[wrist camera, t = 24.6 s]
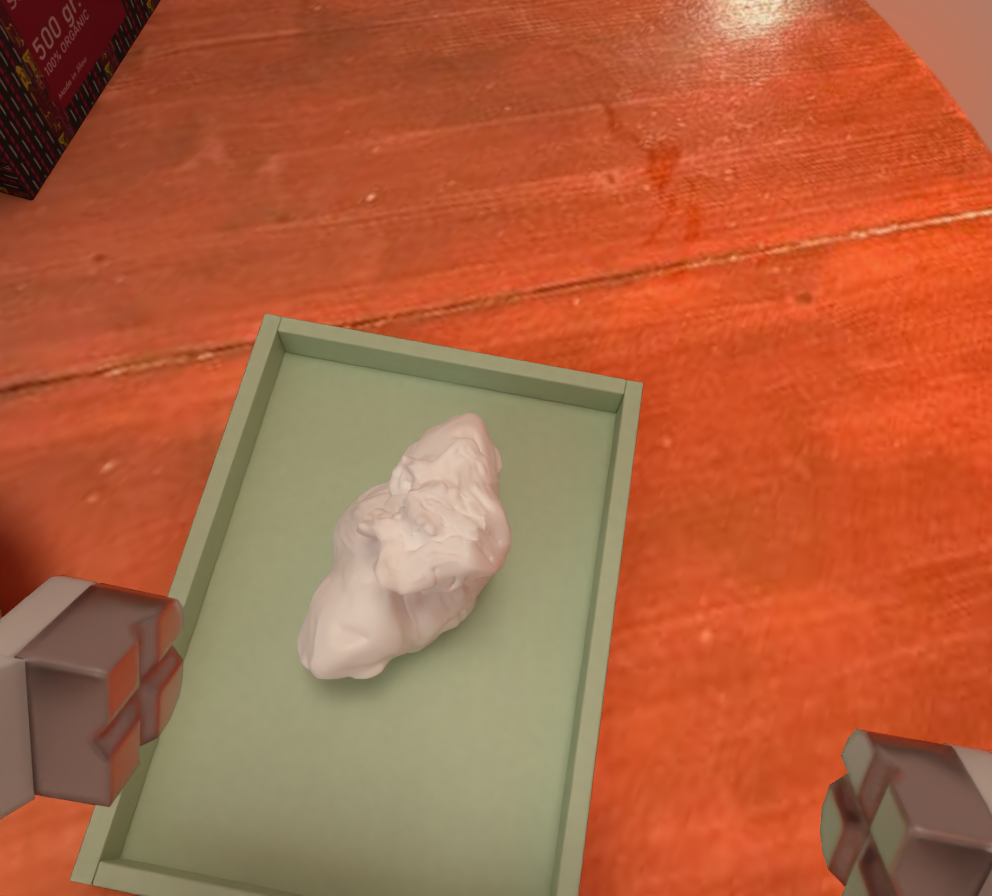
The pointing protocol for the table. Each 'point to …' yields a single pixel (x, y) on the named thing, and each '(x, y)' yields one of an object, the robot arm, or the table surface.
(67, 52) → the box
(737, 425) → the table surface
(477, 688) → the serving tray
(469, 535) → the bust
